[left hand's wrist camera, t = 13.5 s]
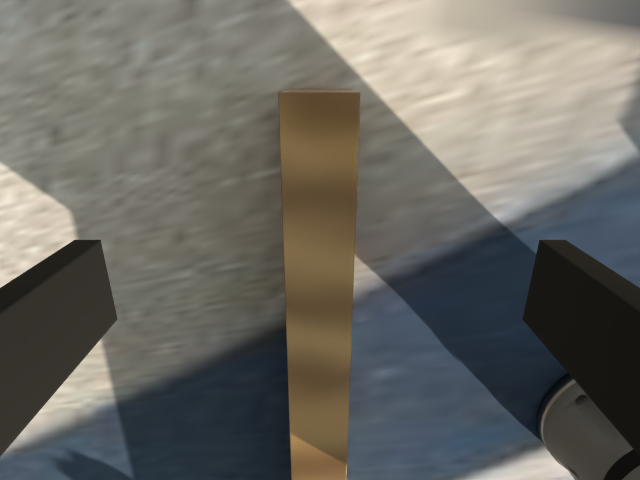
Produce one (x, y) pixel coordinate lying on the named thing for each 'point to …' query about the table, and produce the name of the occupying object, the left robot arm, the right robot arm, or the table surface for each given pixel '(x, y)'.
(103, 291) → the left robot arm
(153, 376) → the table surface
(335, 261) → the beam
